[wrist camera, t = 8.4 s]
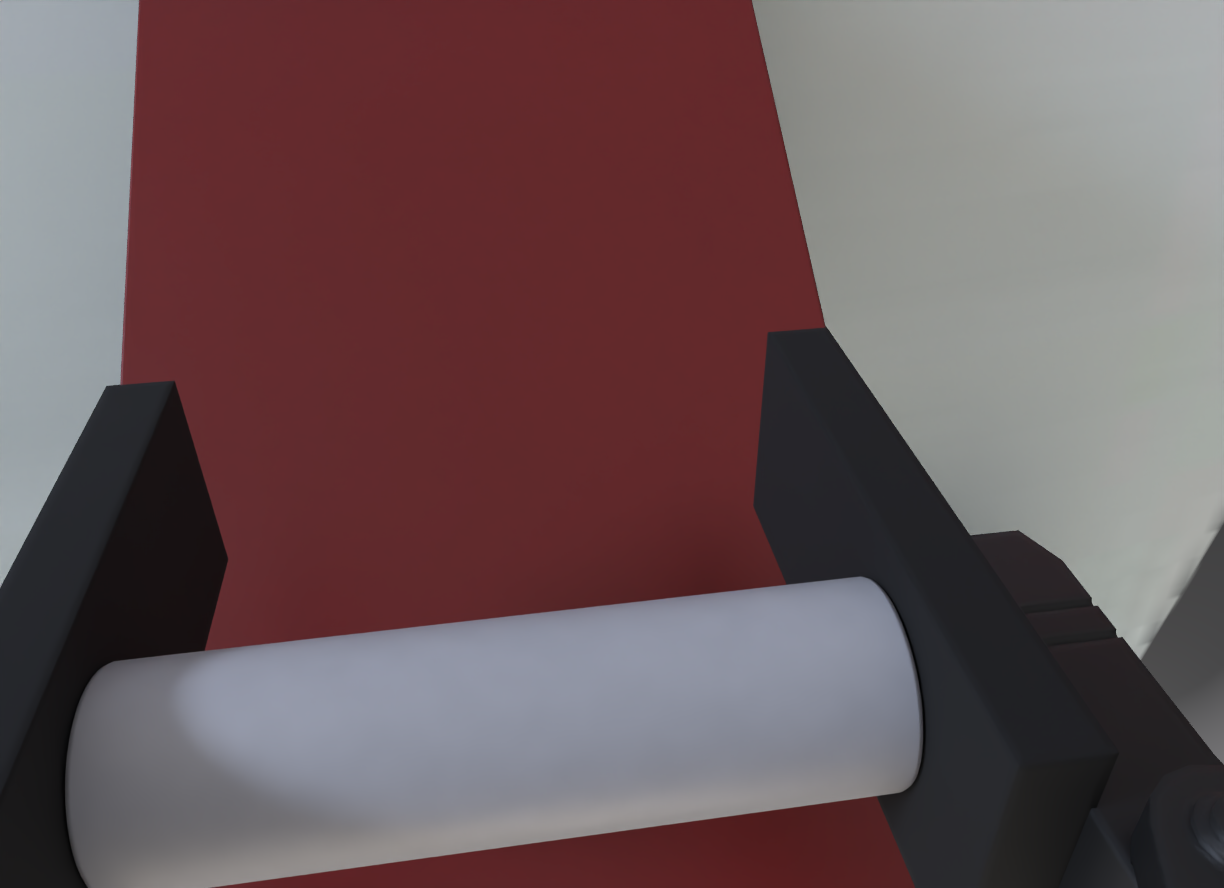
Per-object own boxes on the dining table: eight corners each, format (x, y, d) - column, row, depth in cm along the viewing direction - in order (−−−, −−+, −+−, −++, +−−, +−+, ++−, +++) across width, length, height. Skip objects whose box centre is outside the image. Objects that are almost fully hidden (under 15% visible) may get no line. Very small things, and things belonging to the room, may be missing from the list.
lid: (934, 897, 15) (1297, 956, 8) (114, 1019, 14) (-358, 1226, 7) (736, -5, 22) (836, -440, 14) (155, 23, 20) (-66, -437, 13)
